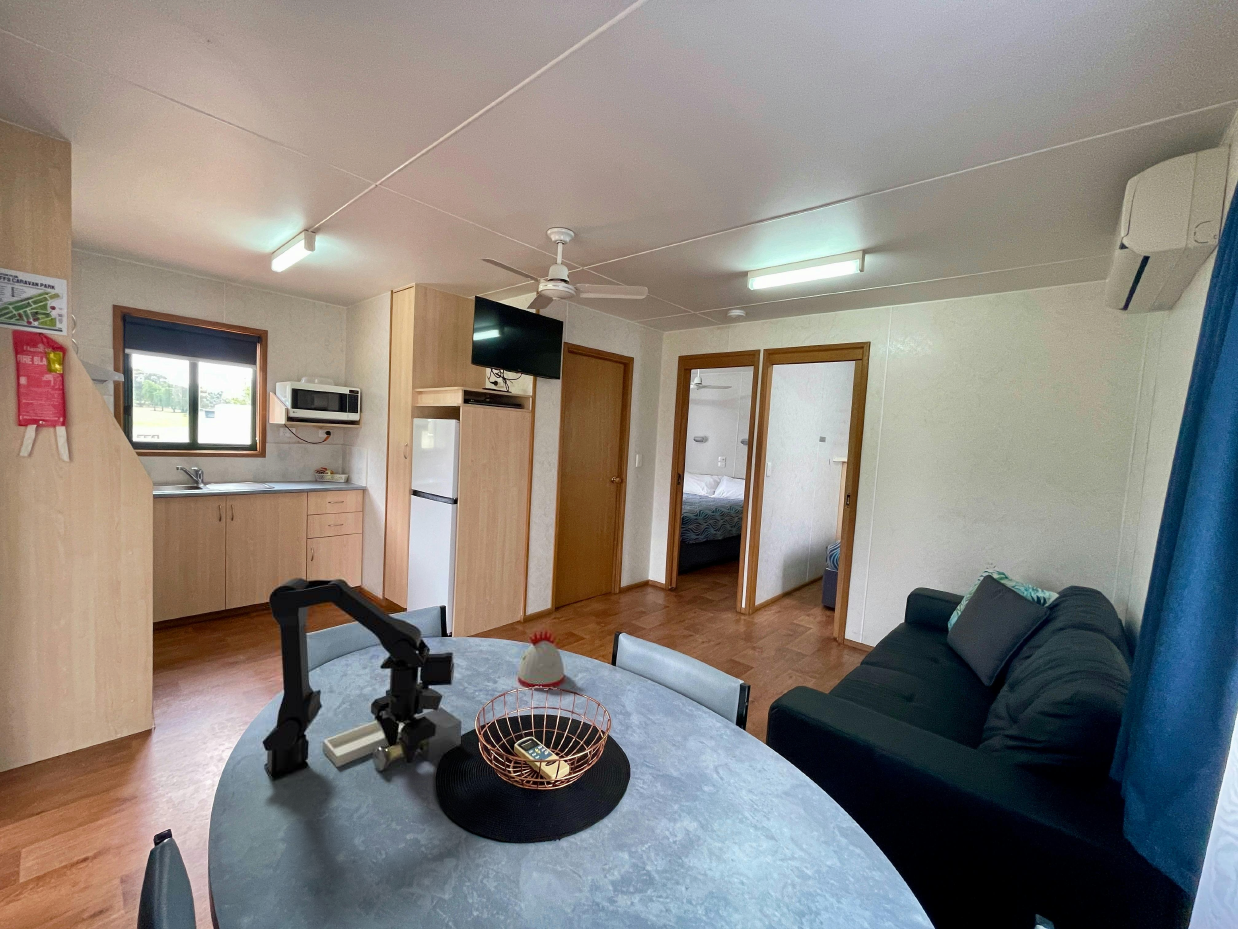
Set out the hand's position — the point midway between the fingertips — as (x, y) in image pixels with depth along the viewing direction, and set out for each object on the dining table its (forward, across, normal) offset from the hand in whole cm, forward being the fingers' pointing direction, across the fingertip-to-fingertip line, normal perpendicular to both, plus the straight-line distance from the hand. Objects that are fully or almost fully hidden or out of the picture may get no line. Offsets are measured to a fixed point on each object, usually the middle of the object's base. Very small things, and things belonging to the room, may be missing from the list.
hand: (401, 755), depth 111 cm
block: (+1, 0, -8) cm, 8 cm away
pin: (+1, 0, -1) cm, 2 cm away
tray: (+1, +11, +2) cm, 11 cm away
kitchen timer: (+1, +9, -48) cm, 49 cm away
